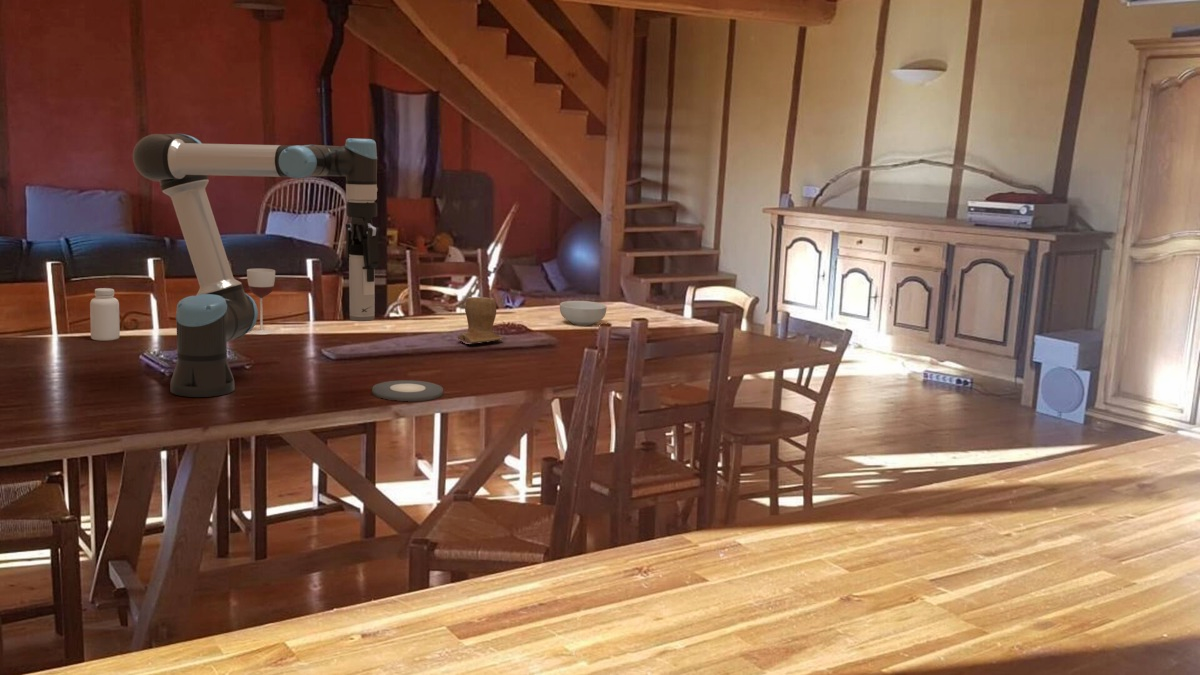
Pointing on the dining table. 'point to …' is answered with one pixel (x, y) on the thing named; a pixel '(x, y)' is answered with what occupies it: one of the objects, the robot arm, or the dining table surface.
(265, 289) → the wineglass
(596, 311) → the cereal bowl
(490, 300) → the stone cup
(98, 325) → the pill bottle
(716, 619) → the dining table surface
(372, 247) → the robot arm
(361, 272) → the travel mug
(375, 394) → the grey flat disc
